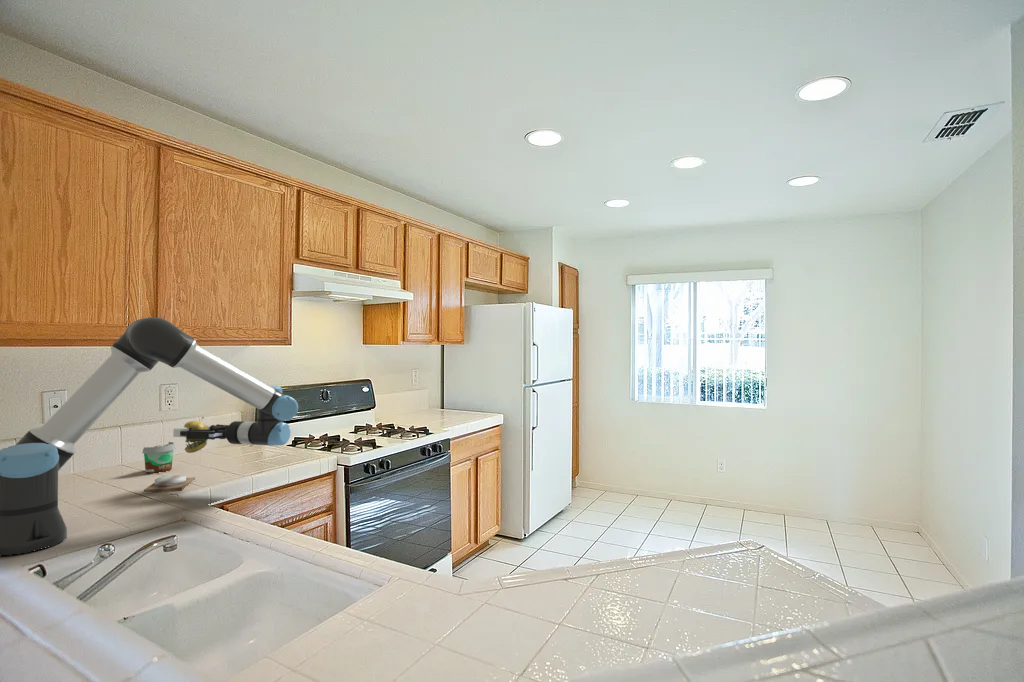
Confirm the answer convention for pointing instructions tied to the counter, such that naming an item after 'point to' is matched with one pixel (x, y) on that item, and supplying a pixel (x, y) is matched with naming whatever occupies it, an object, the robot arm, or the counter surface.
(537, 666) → the counter surface
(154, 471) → the food container
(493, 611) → the counter surface
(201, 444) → the hamburger
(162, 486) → the soap dish
